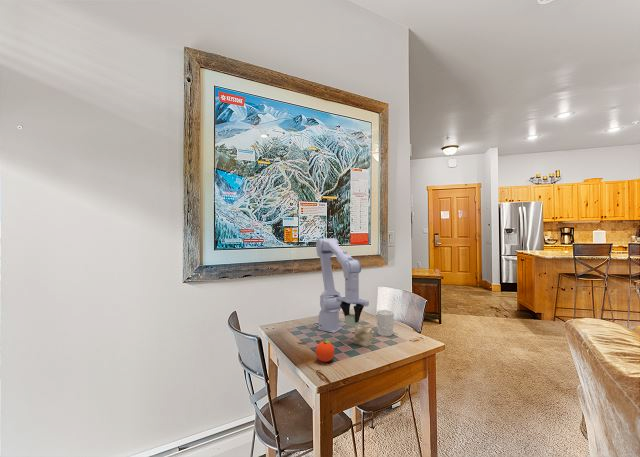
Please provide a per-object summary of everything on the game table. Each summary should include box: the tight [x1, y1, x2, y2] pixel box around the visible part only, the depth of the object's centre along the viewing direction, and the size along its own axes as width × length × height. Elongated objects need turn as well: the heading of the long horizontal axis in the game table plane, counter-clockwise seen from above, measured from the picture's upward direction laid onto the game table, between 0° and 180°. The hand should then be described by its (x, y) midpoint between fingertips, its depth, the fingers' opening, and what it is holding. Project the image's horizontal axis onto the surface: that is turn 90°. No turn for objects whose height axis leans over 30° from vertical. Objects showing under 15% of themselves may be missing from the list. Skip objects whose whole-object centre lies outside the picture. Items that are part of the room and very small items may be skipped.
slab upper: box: [354, 325, 373, 340], centre depth 124 cm, size 6×6×3 cm
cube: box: [344, 313, 359, 328], centre depth 124 cm, size 4×4×4 cm
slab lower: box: [353, 334, 374, 347], centre depth 125 cm, size 6×6×3 cm
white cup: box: [375, 309, 395, 337], centre depth 135 cm, size 8×8×10 cm
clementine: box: [315, 340, 335, 363], centre depth 108 cm, size 8×7×7 cm
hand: (352, 321), depth 124 cm, fingers closed on cube, 4 cm apart
